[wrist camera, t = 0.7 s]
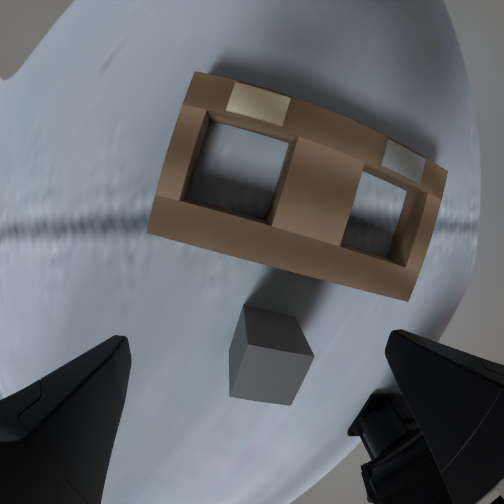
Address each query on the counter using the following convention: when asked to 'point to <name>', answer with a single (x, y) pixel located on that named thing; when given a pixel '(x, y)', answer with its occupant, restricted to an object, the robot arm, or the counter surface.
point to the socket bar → (299, 189)
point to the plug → (267, 357)
